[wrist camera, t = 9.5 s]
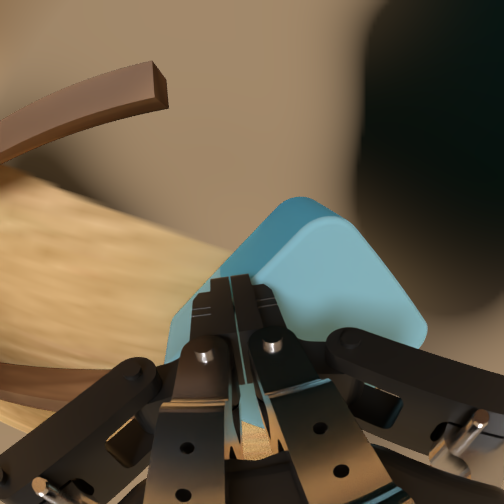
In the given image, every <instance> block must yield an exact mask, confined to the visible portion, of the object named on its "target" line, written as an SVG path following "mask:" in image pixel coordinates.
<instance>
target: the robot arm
mask: <svg viewBox="0 0 504 504" xmlns="http://www.w3.org/2000/svg"><path fill="white" fill-rule="evenodd" d="M230 279H231V285H232V292H233V299H234V305H235V312H236V318H237V325H238V331H239V337H240V343H241V350H242V356H243V362H244V368H245V373H246V379H247V384H251V383H253V384H254V389H255V394H256V401H257V405H258V408H259V411H260V415H261V418H262V421H263V424H264V427H265V430H266V434H267V437H268V440H269V443H270V446H271V450H272V454H273V455H271V456H269V457H266V458H264V459H261V460H244V454H243V443H242V423H241V404H240V397H241V394H240V387H239V385H245V379H244V373H243V367H242V361H241V354H240V348H239V341H238V335H237V328H236V322H235V315H234V309H233V302H232V296H231V289H230V283H229V276H227V277H220V278H213V279H210V292H202V293H198V294H197V296H196V297H195V298H194V300H193V303H192V314H191V317H192V318H191V326H190V339H189V342H188V343H186V344H185V345H184V347H183V348H182V350H181V354H180V357H179V358H178V359H176V360H174V361H172V362H169V363H166V364H163V365H160V366H157V367H156V366H155V364H154V363H153V362H152V361H151V360H149V359H147V358H143V357H134V358H130V359H127V360H125V361H123V362H121V363H120V364H118V365H117V366H116V367H114V368H113V369H112V370H111V371H109V372H108V373H107V374H105V375H104V376H103V377H102V378H100V379H99V380H98V381H96V382H95V383H94V384H92V385H91V386H90V387H89V388H87V389H86V390H85V391H83V392H82V393H81V394H79V395H78V396H77V397H76V398H74V399H73V400H72V401H70V402H69V403H68V404H66V405H65V406H64V407H63V408H61V409H60V410H59V411H57V412H56V413H55V414H53V415H52V416H51V417H49V418H48V419H47V420H46V421H44V422H43V423H42V424H40V425H39V426H38V427H36V428H35V429H34V430H32V431H31V432H30V433H28V434H27V435H26V436H25V437H23V438H22V439H21V440H19V441H18V442H17V443H15V444H14V445H13V446H11V447H10V448H9V449H7V450H6V451H5V452H3V453H2V454H1V455H0V500H1V501H2V502H4V503H5V504H107V503H108V502H109V501H110V500H111V499H112V498H114V497H115V496H116V495H117V494H118V493H119V492H120V491H121V490H122V489H124V488H125V487H126V486H127V485H128V484H129V483H130V482H131V481H132V480H133V479H134V478H136V477H137V476H138V475H139V474H140V473H141V472H142V471H143V470H144V469H145V468H146V467H147V466H148V465H149V468H148V474H147V478H146V479H144V480H143V481H141V482H140V483H139V484H137V485H136V486H135V487H134V488H133V489H132V490H131V491H130V492H129V493H128V494H127V495H126V496H125V497H124V498H123V499H122V500H121V501H120V502H119V503H118V504H504V490H503V489H501V486H502V483H503V480H504V375H500V374H497V373H494V372H490V371H486V370H483V369H480V368H477V367H473V366H470V365H467V364H463V363H460V362H457V361H454V360H451V359H448V358H444V357H441V356H438V355H435V354H432V353H429V352H426V351H423V350H420V349H417V348H414V347H411V346H408V345H405V344H402V343H399V342H396V341H393V340H390V339H387V338H385V337H382V336H379V335H376V334H373V333H370V332H368V331H365V330H362V329H359V328H354V327H344V328H340V329H337V330H335V331H333V332H331V333H330V334H329V336H328V337H327V339H326V342H324V341H305V340H301V339H299V338H297V337H296V335H295V334H294V333H293V332H292V331H291V330H289V329H287V326H286V324H285V322H284V319H283V317H282V314H281V312H280V309H279V307H278V305H277V302H276V299H275V297H274V294H273V292H272V289H270V288H269V287H268V286H266V285H265V284H258V285H252V284H251V281H250V277H249V274H241V275H234V276H230ZM364 383H367V384H370V385H372V386H375V387H377V388H380V389H382V390H385V391H387V392H390V393H392V394H395V395H397V396H399V397H400V398H398V397H396V396H393V395H391V394H388V393H386V392H383V391H381V390H378V389H376V388H373V387H371V386H368V385H366V384H364ZM133 416H134V417H135V418H134V419H133V420H132V421H130V422H129V423H128V424H127V425H126V426H125V427H124V428H123V429H121V430H120V431H119V432H118V433H117V434H116V435H115V436H113V437H112V438H111V439H110V440H109V441H107V442H106V440H107V439H108V438H109V437H110V436H111V435H112V434H113V433H114V432H116V431H117V430H118V429H119V428H120V427H121V426H122V425H124V424H125V423H126V422H127V421H128V420H129V419H130V418H131V417H133ZM362 430H364V431H366V432H369V433H371V434H373V435H376V436H378V437H380V438H383V439H385V440H387V441H390V442H393V443H395V444H398V445H400V446H403V447H405V448H408V449H411V450H414V451H416V452H419V453H422V454H425V455H427V456H429V460H430V464H431V465H430V466H429V465H426V464H424V463H421V462H419V461H416V460H414V459H411V458H409V457H406V456H404V455H402V454H399V453H397V452H395V451H392V450H390V449H388V448H385V447H383V446H379V445H376V444H371V443H369V441H368V439H367V438H366V436H365V434H364V433H363V431H362Z"/></svg>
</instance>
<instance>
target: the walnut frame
mask: <svg viewBox="0 0 504 504" xmlns="http://www.w3.org/2000/svg"><path fill="white" fill-rule="evenodd" d="M168 108H169V105H168V94H167V83H166V79H165V77H164V76H163V75H162V73H161V72H160V70H159V69H158V68H157V66H156V65H155V64H154V62H153V61H148V62H144V63H140V64H136V65H132V66H128V67H124V68H121V69H118V70H114V71H111V72H108V73H104V74H101V75H98V76H95V77H92V78H90V79H87V80H84V81H81V82H79V83H76V84H73V85H71V86H68V87H66V88H63V89H61V90H59V91H57V92H54V93H52V94H50V95H48V96H46V97H43V98H41V99H39V100H37V101H35V102H33V103H31V104H29V105H27V106H25V107H23V108H21V109H19V110H18V111H16V112H14V113H12V114H11V115H9V116H7V117H5V118H4V119H2V120H0V165H1V164H3V163H5V162H7V161H9V160H11V159H12V158H15V157H17V156H19V155H21V154H23V153H25V152H28V151H30V150H32V149H35V148H37V147H40V146H42V145H44V144H47V143H49V142H52V141H55V140H57V139H60V138H63V137H65V136H68V135H71V134H74V133H76V132H79V131H83V130H86V129H89V128H92V127H95V126H99V125H102V124H105V123H109V122H112V121H116V120H120V119H124V118H128V117H132V116H136V115H140V114H144V113H149V112H153V111H159V110H164V109H168ZM109 371H111V370H85V369H59V368H44V367H32V366H22V365H14V364H6V363H0V400H4V401H8V402H11V403H15V404H20V405H24V406H28V407H33V408H38V409H43V410H49V411H54V412H57V411H59V410H60V409H61V408H63V407H64V406H65V405H66V404H68V403H69V402H70V401H72V400H73V399H74V398H76V397H77V396H78V395H79V394H81V393H82V392H83V391H85V390H86V389H87V388H89V387H90V386H91V385H92V384H94V383H95V382H96V381H98V380H99V379H100V378H102V377H103V376H104V375H105V374H107V373H108V372H109ZM134 418H135V417H134V416H133V417H131V418H130V419H134Z"/></svg>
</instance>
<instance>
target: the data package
mask: <svg viewBox="0 0 504 504" xmlns="http://www.w3.org/2000/svg"><path fill="white" fill-rule="evenodd" d="M241 274H249V277H250V281H251V284H252V285H258V284H265V285H266V286H268V287H269V288H270V289H272V292H273V294H274V297H275V299H276V302H277V305H278V307H279V309H280V312H281V314H282V317H283V319H284V322H285V324H286V326H287V329H289V330H291V331H292V332H293V333H294V334H295V335H296V337H297V338H299V339H301V340H305V341H324V342H326V339H327V337H328V336H329V334H330V333H331V332H333V331H335V330H337V329H340V328H344V327H354V328H359V329H362V330H365V331H368V332H370V333H373V334H376V335H379V336H382V337H385V338H387V339H390V340H393V341H396V342H399V343H402V344H405V345H408V346H411V347H414V348H417V349H419V348H420V346H421V345H422V343H423V341H424V340H425V337H426V335H427V324H426V322H425V320H424V319H423V317H422V316H421V314H420V313H419V311H418V310H417V308H416V307H415V305H414V304H413V302H412V301H411V299H410V298H409V297H408V295H407V294H406V292H405V291H404V290H403V288H402V287H401V285H400V284H399V283H398V281H397V280H396V279H395V277H394V276H393V275H392V273H391V272H390V271H389V269H388V268H387V267H386V266H385V264H384V263H383V261H382V260H381V259H380V257H379V256H378V255H377V254H376V253H375V251H374V250H373V249H372V247H371V246H370V245H369V244H368V243H367V241H366V240H365V239H364V237H363V236H362V235H361V234H360V233H359V231H358V230H357V229H356V228H355V227H354V226H353V225H352V224H351V223H350V222H349V221H347V220H345V219H344V218H342V217H341V216H339V215H338V214H336V213H334V212H333V211H331V210H329V209H328V208H326V207H325V206H323V205H321V204H320V203H318V202H316V201H315V200H313V199H310V198H307V197H295V198H290V199H288V200H286V201H284V202H283V203H281V204H280V205H279V206H278V207H277V208H276V209H275V210H274V211H273V212H272V213H271V214H270V215H269V216H268V217H267V218H266V219H265V220H264V221H263V222H262V223H261V224H260V225H259V227H258V228H257V229H256V230H255V231H254V232H253V233H252V234H251V235H250V236H249V237H248V238H247V239H246V240H245V241H244V242H243V243H242V244H241V245H240V246H239V248H238V249H237V250H236V251H235V252H234V253H233V254H232V255H231V256H230V257H229V258H228V259H227V260H226V261H225V262H224V263H223V264H222V265H221V267H220V268H219V269H218V270H217V271H216V272H215V273H214V274H213V275H212V276H211V277H210V278H209V279H208V280H207V281H206V283H205V284H204V285H203V286H202V287H201V288H200V289H199V290H198V291H197V292H196V293H195V294H194V295H193V296H192V298H191V299H190V300H189V301H188V302H187V303H186V304H185V305H184V306H183V307H182V308H181V309H180V310H179V311H178V313H177V314H176V315H175V316H174V317H173V319H172V322H171V326H170V331H169V337H168V343H167V349H166V355H165V362H164V364H166V363H169V362H172V361H174V360H176V359H178V358H179V357H180V354H181V350H182V348H183V347H184V345H185V344H186V343H188V342H189V339H190V326H191V318H192V317H191V314H192V303H193V300H194V298H195V297H196V296H197V294H198V293H202V292H210V279H213V278H220V277H227V276H229V283H230V289H231V296H232V302H233V309H234V315H235V322H236V328H237V335H238V341H239V348H240V354H241V361H242V367H243V373H244V379H245V385H239V387H240V394H241V397H240V404H241V421H244V422H246V423H249V424H252V425H255V426H258V427H261V428H263V429H265V427H264V424H263V421H262V418H261V415H260V411H259V408H258V405H257V401H256V394H255V389H254V384H253V383H251V384H247V379H246V373H245V368H244V362H243V356H242V350H241V343H240V337H239V331H238V325H237V318H236V312H235V305H234V299H233V292H232V285H231V279H230V276H234V275H241ZM364 384H366V385H368V386H371V387H373V388H375V386H372V385H370V384H367V383H364Z"/></svg>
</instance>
